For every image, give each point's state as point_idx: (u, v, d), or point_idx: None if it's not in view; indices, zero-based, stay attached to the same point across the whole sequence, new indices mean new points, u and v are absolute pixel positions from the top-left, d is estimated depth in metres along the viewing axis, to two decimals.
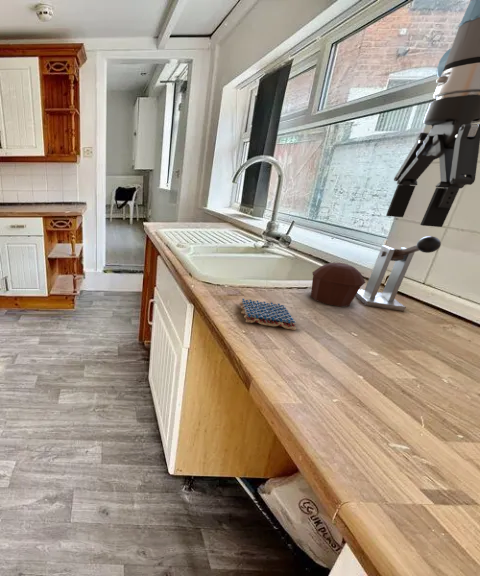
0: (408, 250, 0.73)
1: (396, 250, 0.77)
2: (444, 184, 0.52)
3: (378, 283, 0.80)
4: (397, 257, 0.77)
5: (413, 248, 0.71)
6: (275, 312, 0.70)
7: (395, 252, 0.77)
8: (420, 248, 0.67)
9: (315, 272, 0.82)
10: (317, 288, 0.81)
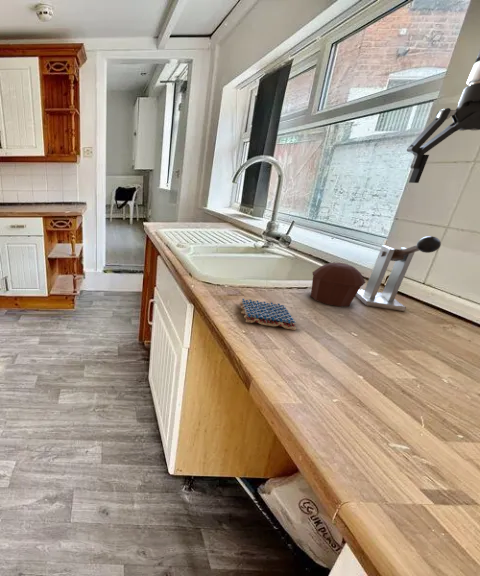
0: (408, 250, 0.73)
1: (396, 250, 0.77)
2: None
3: (378, 283, 0.80)
4: (397, 257, 0.77)
5: (413, 248, 0.71)
6: (275, 312, 0.70)
7: (395, 252, 0.77)
8: (420, 248, 0.67)
9: (315, 272, 0.82)
10: (317, 288, 0.81)
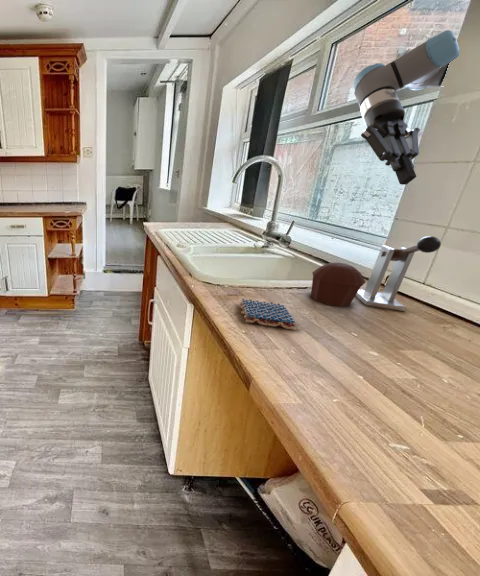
0: (408, 250, 0.73)
1: (396, 250, 0.77)
2: (411, 155, 0.75)
3: (378, 283, 0.80)
4: (397, 257, 0.77)
5: (413, 248, 0.71)
6: (275, 312, 0.70)
7: (395, 252, 0.77)
8: (420, 248, 0.67)
9: (315, 272, 0.82)
10: (317, 288, 0.81)
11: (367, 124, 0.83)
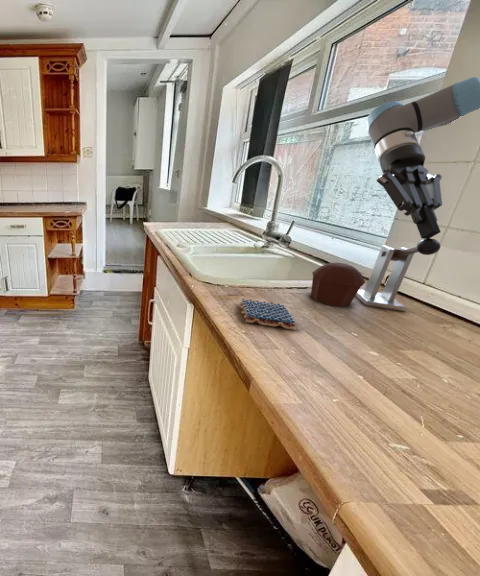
0: (408, 251, 0.73)
1: (396, 250, 0.77)
2: (434, 206, 0.68)
3: (378, 283, 0.80)
4: (397, 257, 0.77)
5: (413, 249, 0.71)
6: (275, 312, 0.70)
7: (395, 252, 0.77)
8: (419, 250, 0.68)
9: (315, 272, 0.82)
10: (317, 288, 0.81)
11: (383, 168, 0.76)
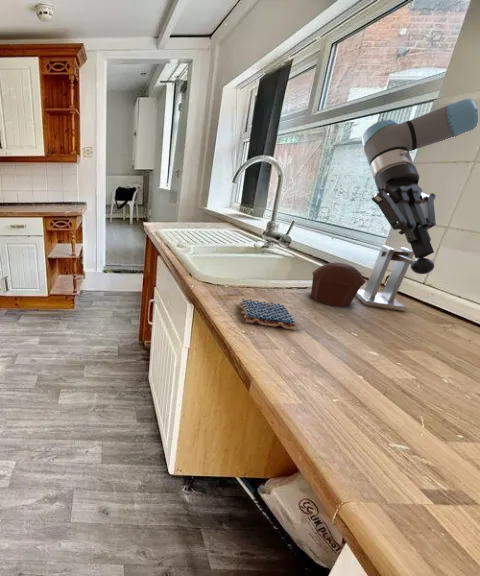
0: (405, 260, 0.73)
1: (396, 252, 0.77)
2: (428, 226, 0.69)
3: (378, 283, 0.80)
4: (396, 259, 0.78)
5: (409, 262, 0.72)
6: (275, 312, 0.70)
7: (395, 254, 0.77)
8: (413, 270, 0.69)
9: (315, 272, 0.82)
10: (317, 288, 0.81)
11: (378, 186, 0.77)
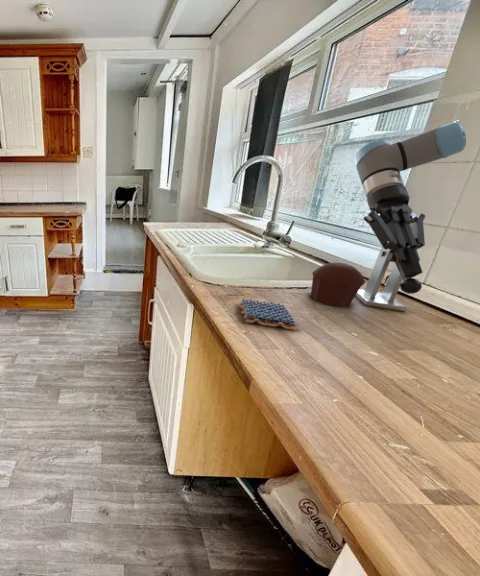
0: (399, 270, 0.75)
1: None
2: (417, 246, 0.71)
3: (378, 283, 0.80)
4: None
5: (402, 275, 0.73)
6: (275, 312, 0.70)
7: (394, 257, 0.78)
8: None
9: (315, 272, 0.82)
10: (317, 288, 0.81)
11: (370, 205, 0.79)
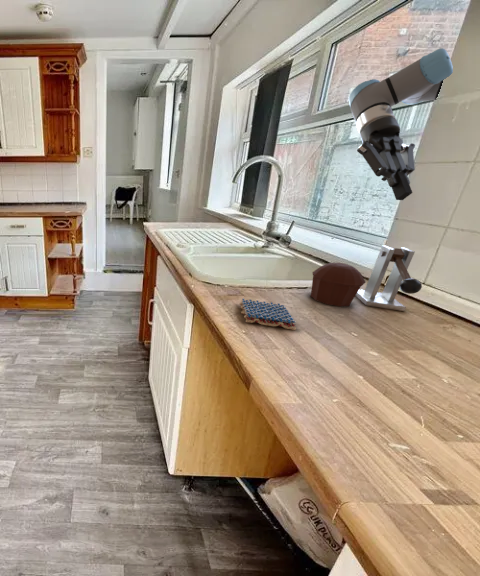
0: (399, 270, 0.75)
1: (396, 255, 0.77)
2: (407, 171, 0.75)
3: (378, 283, 0.80)
4: None
5: (402, 275, 0.73)
6: (275, 312, 0.70)
7: (394, 257, 0.78)
8: None
9: (315, 272, 0.82)
10: (317, 288, 0.81)
11: (363, 139, 0.84)
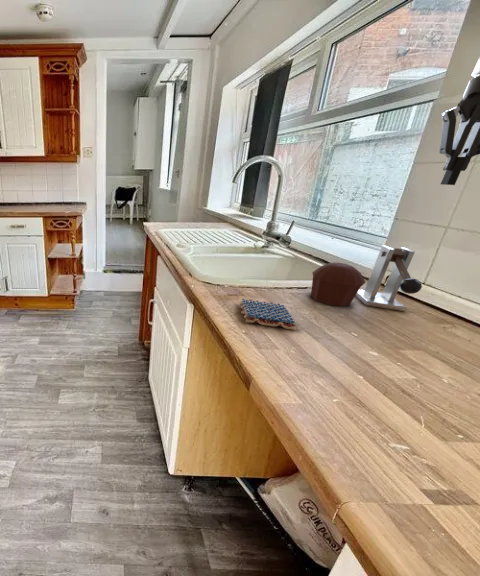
0: (399, 270, 0.75)
1: (396, 255, 0.77)
2: None
3: (378, 283, 0.80)
4: None
5: (402, 275, 0.73)
6: (275, 312, 0.70)
7: (394, 257, 0.78)
8: None
9: (315, 272, 0.82)
10: (317, 288, 0.81)
11: (464, 93, 0.73)
